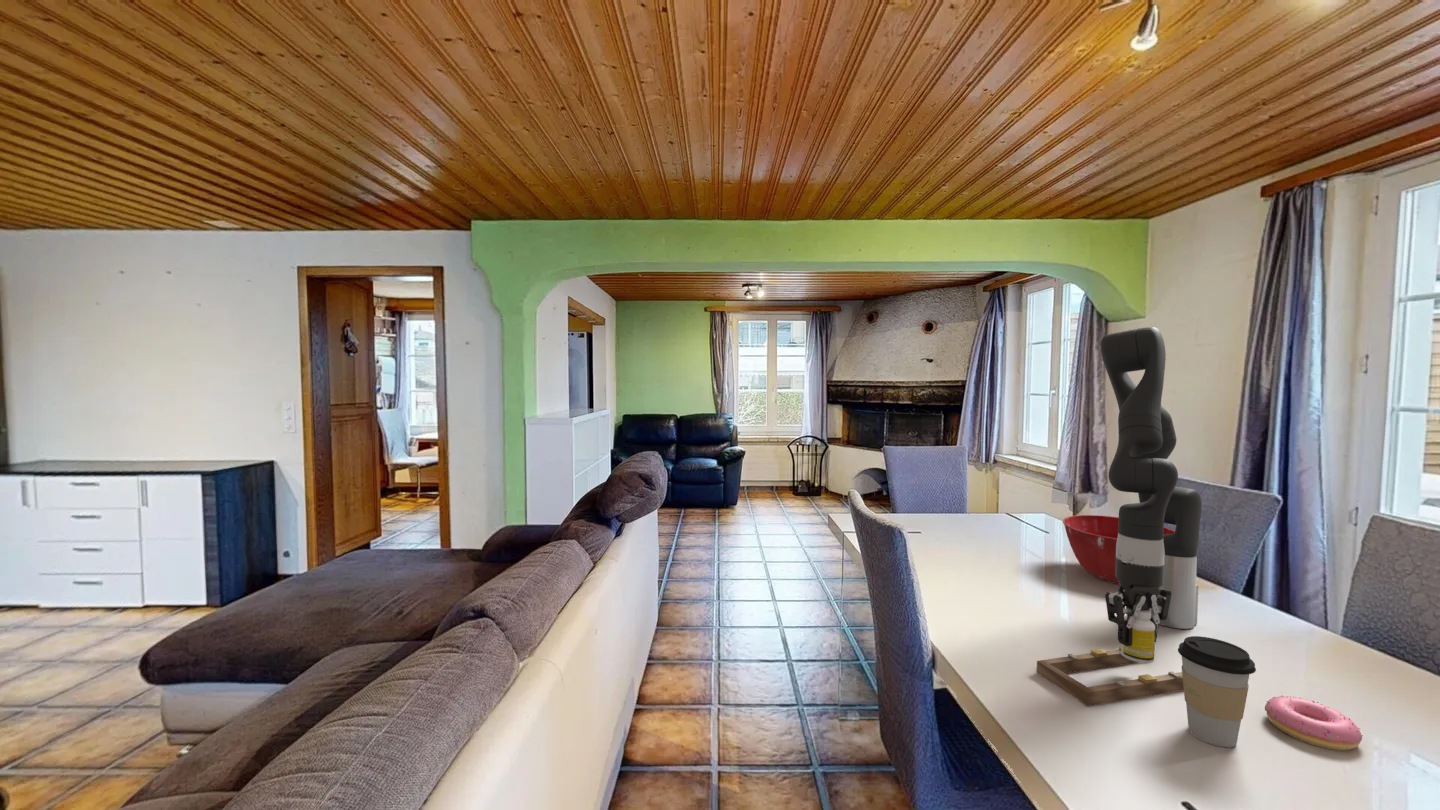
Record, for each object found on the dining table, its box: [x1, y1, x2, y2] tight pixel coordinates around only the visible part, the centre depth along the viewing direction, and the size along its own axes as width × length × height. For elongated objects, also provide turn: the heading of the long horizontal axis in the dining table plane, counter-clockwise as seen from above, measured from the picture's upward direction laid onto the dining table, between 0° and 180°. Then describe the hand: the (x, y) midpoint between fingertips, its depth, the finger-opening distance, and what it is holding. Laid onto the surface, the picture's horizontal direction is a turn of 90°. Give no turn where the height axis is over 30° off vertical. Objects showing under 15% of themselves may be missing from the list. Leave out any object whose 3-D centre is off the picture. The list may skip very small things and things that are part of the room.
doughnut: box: [1264, 695, 1364, 751], centre depth 90 cm, size 11×11×4 cm
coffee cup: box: [1177, 635, 1257, 748], centre depth 89 cm, size 9×9×15 cm
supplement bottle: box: [1119, 606, 1156, 664], centre depth 106 cm, size 5×5×10 cm
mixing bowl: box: [1062, 514, 1175, 585], centre depth 161 cm, size 28×28×16 cm
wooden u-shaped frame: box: [1036, 646, 1184, 707], centre depth 106 cm, size 28×12×3 cm, turn 103°
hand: (1137, 642), depth 106 cm, fingers closed on supplement bottle, 5 cm apart
